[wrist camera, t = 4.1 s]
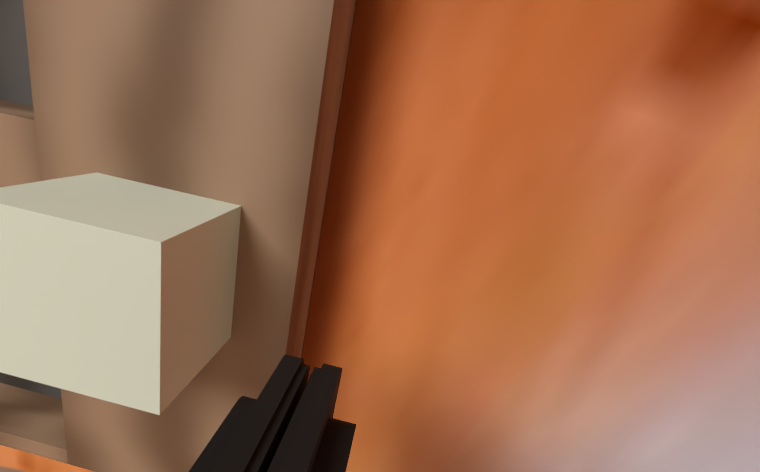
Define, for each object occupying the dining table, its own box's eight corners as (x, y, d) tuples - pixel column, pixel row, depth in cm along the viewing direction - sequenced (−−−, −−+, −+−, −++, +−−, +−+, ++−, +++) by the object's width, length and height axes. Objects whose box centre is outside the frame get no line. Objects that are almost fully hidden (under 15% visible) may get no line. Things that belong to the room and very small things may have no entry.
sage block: (241, 205, 14) (161, 242, 10) (230, 337, 16) (159, 415, 12) (96, 172, 15) (-41, 193, 10) (102, 304, 16) (-12, 369, 12)
